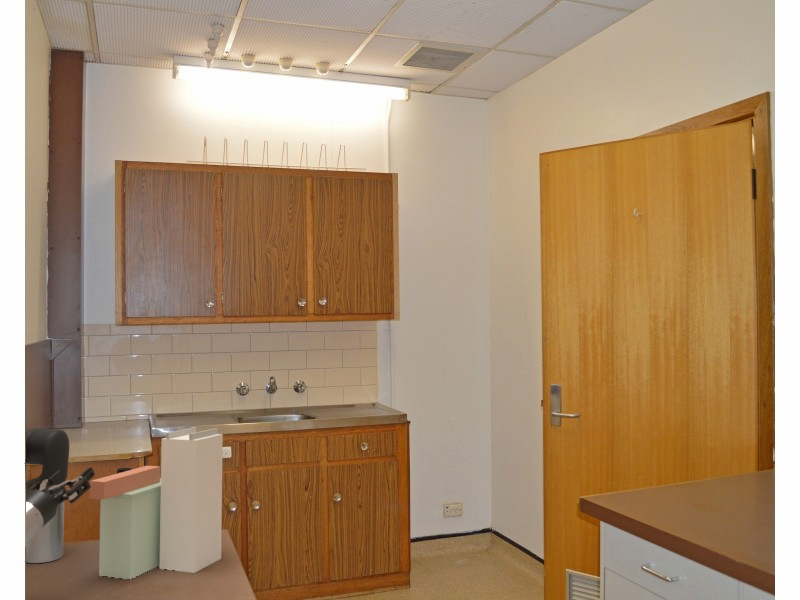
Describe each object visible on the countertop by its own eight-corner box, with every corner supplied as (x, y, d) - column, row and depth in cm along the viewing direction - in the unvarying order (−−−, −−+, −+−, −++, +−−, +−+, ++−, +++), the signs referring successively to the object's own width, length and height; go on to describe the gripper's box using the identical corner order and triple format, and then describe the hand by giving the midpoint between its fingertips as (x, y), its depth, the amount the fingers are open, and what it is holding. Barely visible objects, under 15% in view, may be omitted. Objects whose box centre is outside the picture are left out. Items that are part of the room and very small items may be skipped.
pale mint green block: (97, 576, 174) (98, 491, 175) (149, 553, 193) (150, 477, 194) (130, 580, 172) (132, 494, 172) (180, 556, 190) (181, 479, 191)
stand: (159, 569, 180) (161, 432, 182) (187, 555, 191) (189, 426, 193) (194, 573, 177) (196, 434, 179) (221, 558, 188) (222, 428, 190)
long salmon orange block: (89, 498, 168) (89, 480, 169) (146, 481, 188) (147, 465, 189) (103, 499, 167) (104, 482, 167) (159, 482, 187) (160, 466, 187)
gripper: (46, 499, 146) (96, 455, 160) (-8, 504, 150) (45, 460, 165) (60, 530, 148) (108, 483, 163) (7, 534, 152) (58, 488, 167)
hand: (77, 472), depth 164 cm, fingers open, 8 cm apart
